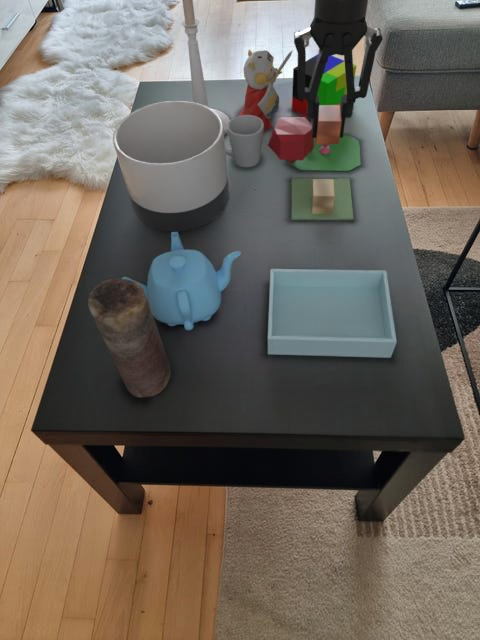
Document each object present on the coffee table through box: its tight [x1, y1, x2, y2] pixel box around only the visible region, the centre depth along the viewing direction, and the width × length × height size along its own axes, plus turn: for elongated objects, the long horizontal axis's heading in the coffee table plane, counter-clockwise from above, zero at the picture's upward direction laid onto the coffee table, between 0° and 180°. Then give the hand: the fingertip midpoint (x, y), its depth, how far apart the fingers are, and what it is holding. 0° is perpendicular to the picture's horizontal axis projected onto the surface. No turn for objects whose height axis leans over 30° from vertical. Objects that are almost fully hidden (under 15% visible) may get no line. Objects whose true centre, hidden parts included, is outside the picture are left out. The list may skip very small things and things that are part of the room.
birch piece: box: [311, 178, 335, 214], centre depth 94 cm, size 4×5×4 cm
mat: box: [290, 178, 355, 221], centre depth 97 cm, size 12×12×1 cm
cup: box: [223, 115, 264, 168], centre depth 103 cm, size 8×10×8 cm
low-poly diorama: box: [267, 116, 362, 172], centre depth 102 cm, size 15×20×9 cm
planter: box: [112, 100, 230, 232], centre depth 91 cm, size 19×19×18 cm
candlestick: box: [181, 0, 231, 136], centre depth 102 cm, size 13×13×30 cm
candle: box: [87, 278, 172, 398], centre depth 67 cm, size 8×7×20 cm
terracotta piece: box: [316, 105, 342, 144], centre depth 85 cm, size 4×5×4 cm
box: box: [267, 268, 397, 359], centre depth 78 cm, size 19×14×4 cm
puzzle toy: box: [291, 53, 357, 121], centre depth 112 cm, size 10×10×10 cm
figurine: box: [238, 49, 293, 131], centre depth 109 cm, size 13×12×15 cm
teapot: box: [121, 231, 242, 331], centre depth 79 cm, size 15×14×11 cm
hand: (327, 133), depth 86 cm, fingers closed on terracotta piece, 4 cm apart
